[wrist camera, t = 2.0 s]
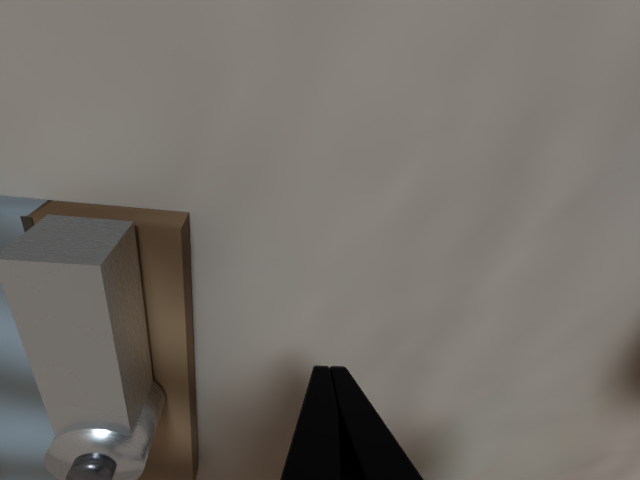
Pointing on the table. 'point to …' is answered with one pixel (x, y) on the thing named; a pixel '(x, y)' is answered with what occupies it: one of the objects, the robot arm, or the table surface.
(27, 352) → the latch bar
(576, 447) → the table surface
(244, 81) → the table surface
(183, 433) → the door panel
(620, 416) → the table surface
